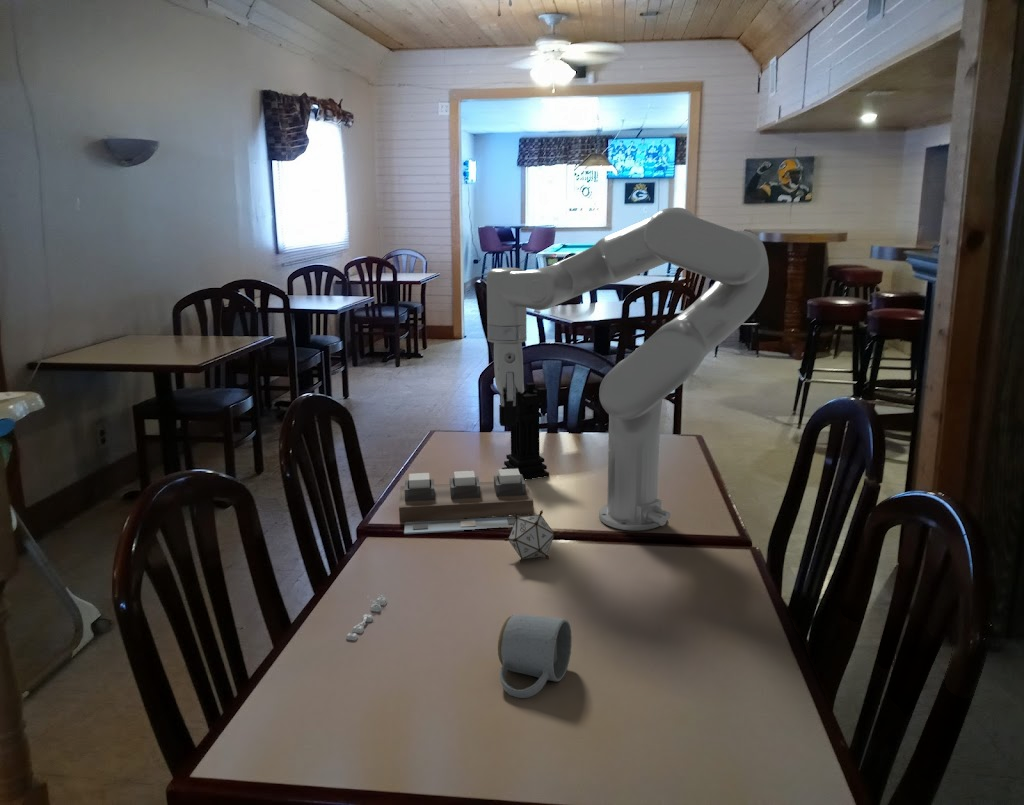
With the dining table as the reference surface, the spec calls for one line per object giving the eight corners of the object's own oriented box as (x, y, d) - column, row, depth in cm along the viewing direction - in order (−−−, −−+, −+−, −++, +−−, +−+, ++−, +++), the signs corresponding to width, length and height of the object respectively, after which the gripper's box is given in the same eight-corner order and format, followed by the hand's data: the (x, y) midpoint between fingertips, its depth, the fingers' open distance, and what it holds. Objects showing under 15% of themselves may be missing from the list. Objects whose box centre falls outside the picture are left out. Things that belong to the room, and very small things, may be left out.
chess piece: (501, 471, 184) (500, 385, 179) (533, 466, 187) (532, 382, 182) (516, 481, 177) (515, 393, 172) (549, 476, 180) (549, 389, 175)
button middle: (475, 488, 159) (475, 477, 159) (455, 489, 159) (454, 478, 158) (474, 481, 163) (473, 470, 162) (454, 482, 163) (454, 471, 162)
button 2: (520, 486, 160) (520, 474, 160) (500, 487, 160) (500, 475, 159) (518, 479, 164) (518, 468, 163) (498, 480, 164) (498, 469, 163)
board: (537, 526, 152) (537, 499, 150) (398, 534, 149) (397, 507, 148) (525, 493, 169) (525, 469, 168) (401, 499, 166) (399, 475, 165)
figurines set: (357, 643, 113) (355, 625, 113) (339, 641, 114) (337, 623, 113) (390, 602, 124) (389, 585, 124) (373, 600, 125) (372, 584, 124)
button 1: (429, 490, 158) (429, 479, 158) (409, 491, 158) (408, 480, 157) (429, 484, 162) (429, 472, 162) (409, 485, 162) (409, 473, 161)
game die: (539, 581, 138) (552, 552, 131) (494, 561, 139) (504, 532, 131) (555, 540, 144) (569, 510, 136) (512, 522, 145) (522, 491, 137)
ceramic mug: (515, 650, 110) (514, 599, 108) (573, 661, 107) (572, 609, 105) (485, 694, 101) (483, 639, 99) (547, 708, 98) (546, 652, 96)
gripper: (531, 338, 148) (531, 434, 152) (521, 326, 162) (522, 414, 167) (490, 340, 147) (492, 436, 151) (484, 327, 161) (486, 415, 166)
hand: (507, 424), depth 159 cm, fingers closed
